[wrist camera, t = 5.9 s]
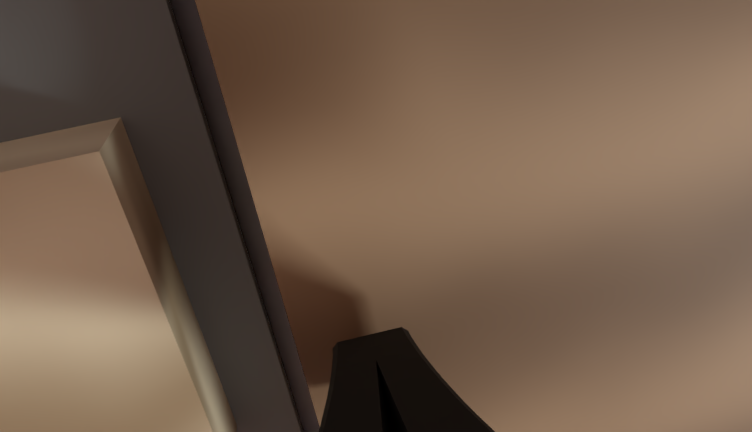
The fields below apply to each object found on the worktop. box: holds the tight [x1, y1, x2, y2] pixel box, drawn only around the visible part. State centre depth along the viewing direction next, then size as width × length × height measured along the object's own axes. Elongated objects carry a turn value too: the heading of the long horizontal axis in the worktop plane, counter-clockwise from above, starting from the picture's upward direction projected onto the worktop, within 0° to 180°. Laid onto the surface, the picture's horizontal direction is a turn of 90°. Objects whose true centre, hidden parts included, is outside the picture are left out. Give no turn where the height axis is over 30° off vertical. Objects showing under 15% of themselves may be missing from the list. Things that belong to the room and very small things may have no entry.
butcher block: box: [195, 0, 752, 432], centre depth 15 cm, size 18×14×4 cm
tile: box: [0, 117, 237, 432], centre depth 14 cm, size 9×6×2 cm, turn 9°
